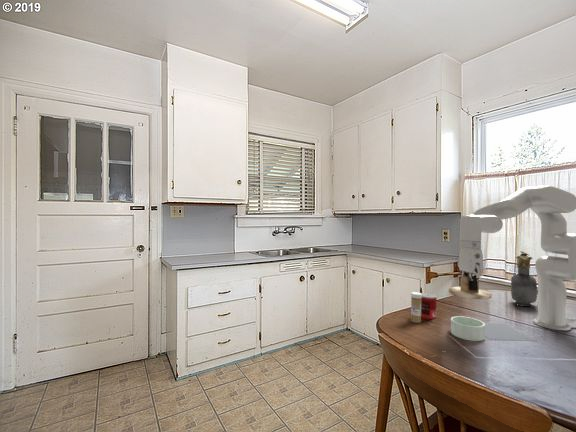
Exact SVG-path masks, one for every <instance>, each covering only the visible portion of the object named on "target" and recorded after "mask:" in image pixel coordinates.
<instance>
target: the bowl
mask: <svg viewBox="0 0 576 432" xmlns="http://www.w3.org/2000/svg"><path fill="white" fill-rule="evenodd" d="M485 323H486V322H484V321H482V320H480V319H478V318H474V317H469V316H465V315H456V316H452V317H451V318H450V333H451V334H452V335H453V336H454V337H457V338H459V339H462V340H467V341H470V342H471V341H473V342H481V341H484V340H486V337H485Z"/></svg>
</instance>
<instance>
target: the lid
mask: <svg viewBox="0 0 576 432" xmlns="http://www.w3.org/2000/svg"><path fill="white" fill-rule="evenodd" d="M469 280H470V276H462V275H460V286H452V287H451V286H450V287H449V288H448V292H449V293H450V294H451V295H453V296H456V297H460V298H462V299H463V298H465V299H468V300H469V299H470V300H479V301H480V300H484V301H485V300H490V299H492V296H493V295H492V293H491V292H489V291H487V290H484V289H480V288H479V287H480V279H479V280H478V288H477V291H475V290H469Z"/></svg>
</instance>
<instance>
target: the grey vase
mask: <svg viewBox="0 0 576 432" xmlns="http://www.w3.org/2000/svg"><path fill="white" fill-rule="evenodd" d="M515 258H516V267H517V274H514V275H512V276H511V279H510V295H511V299H512V300H513V301H515V302H514V304H515V303H516V304H518V305H523V306H531V307H532V305H533V303H536V302H537V301H538V282H537V279H536V278H535V277H533V276H531V275H530V268H531V260H533V257H532V256H530V254H529V253H527V252H525V251H521V250H520V255H517V256H515ZM516 304H515V305H516ZM518 305H517V306H518Z"/></svg>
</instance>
